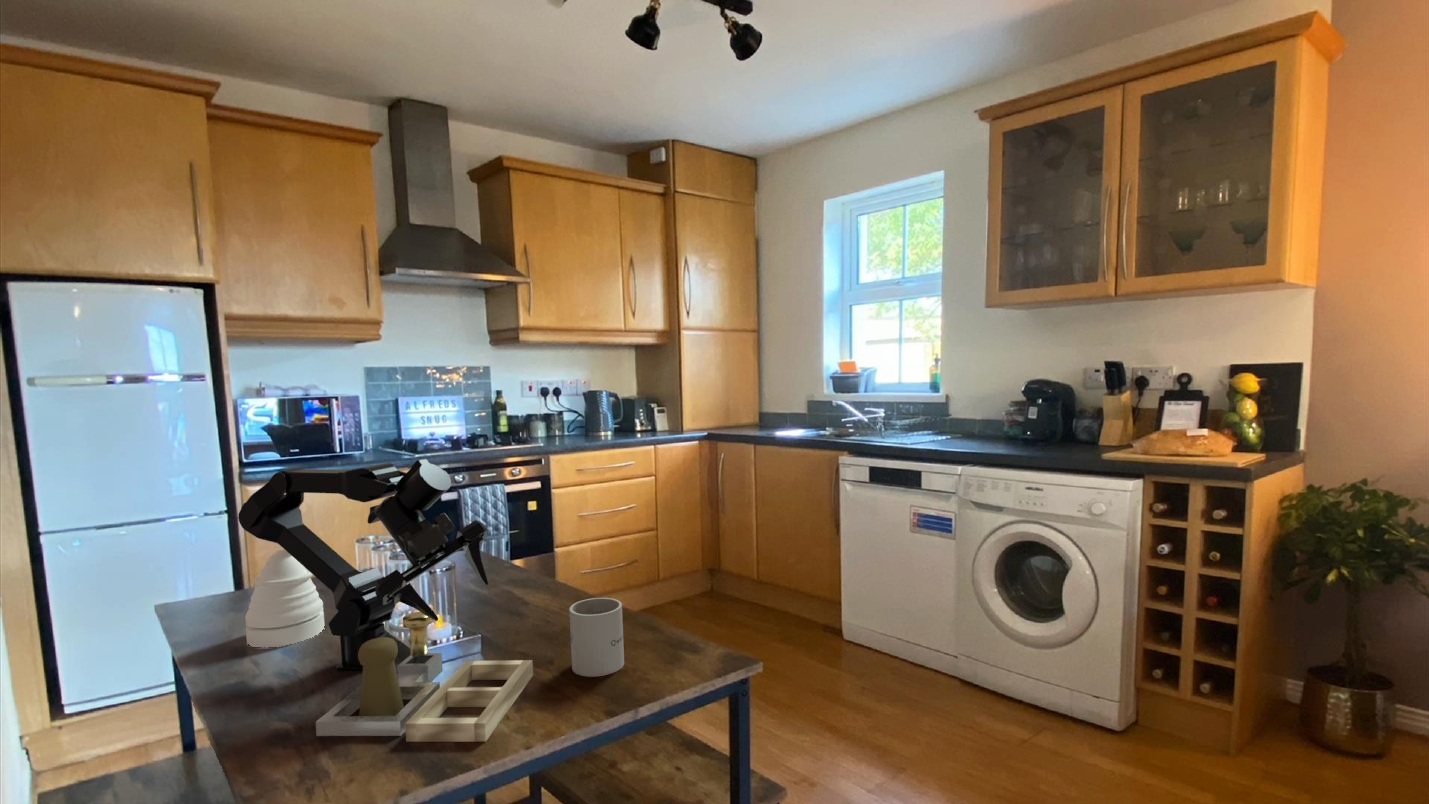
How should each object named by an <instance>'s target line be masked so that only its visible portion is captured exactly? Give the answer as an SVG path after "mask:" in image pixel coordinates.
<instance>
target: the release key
mask: <svg viewBox="0 0 1429 804" xmlns="http://www.w3.org/2000/svg"><path fill="white" fill-rule="evenodd" d="M432 623H433V619H431V618H430V617H428V616H426V615H425V614H423V613H422V612H420V611H415V612H410V613H407V614H406V615H405V616H403V617H402V628H405V629H409V643H410V644H409V645H410V655H411V656H413V657H419V656H423V655H426V654H427V653H429V643H428V626H429V625H431V624H432Z"/></svg>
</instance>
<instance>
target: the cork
mask: <svg viewBox="0 0 1429 804" xmlns="http://www.w3.org/2000/svg"><path fill="white" fill-rule="evenodd" d="M398 651H399V647H398V644H397V641H396V640H395V639H394V638H391V637H388V638H387V637H381V638H375V639H372V640H369V641H367V642H365V643H364V644H362V645H361V647H360V649H359V652H358V659H359V661H360V664H361V665H362V666H363V669H362V674H361V675H362V676H361V678H362V679H361V685H362V686H361V698H360V708H359V709H358V710H359V711H358V716H396V715H397V714H398V713H399V712H400V711H401V710H402V709H403V708H404V707H405V706H404V702H403V701H404V699H402V695H401V691H400V686H399V681H398V676H397V675H398V671H397V668H396V667H397V666H396V664H395V660H396V658H397V656H398Z"/></svg>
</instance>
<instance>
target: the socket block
mask: <svg viewBox="0 0 1429 804" xmlns="http://www.w3.org/2000/svg"><path fill="white" fill-rule="evenodd" d="M442 655H443V653H442V652H428V653H427V654H426V655H423V656H419V657H413V656H411V654H410V655H409V656H407V657H406V658H405V659H404V660H403V661H402V662H400V663H399V664H398V665H397V666H396V667H397V668H396V671H397V676H398V681H399V686H400V691H401V695H402V700H410V701H409V702H408V703H407V704H406V705H405V706H404V708H403V709H402V710H401V711H400V712H399V713H398V714H397V715H396V716H359V715H358V716H357V715H353V714H354V713H355V712H357V710H360V698H361V686H362V684H360V685H359V686H358V687H357V688H355V689H354V690H353V691H351V693H349V694H348V695H347V696H345V697H344V698H343V699H341V700H340V701H339V702H338V703H337V704H336V705H334V707H331V709H329V710H328V711H327V712H326V713H325V714H324V715H322V716H320V718H319V719H317V720H315V733H316V736H317V737H374V736H375V737H380V736H381V737H382V736H383V737H389V736H390V737H398V736H399V737H401V736H402V735H403V734H404V733H406V730H405V723H406V722H407V721H408V720H409V719H410V718H411V717H412V716H413V715H414V714H415V713H416V712H417V711H418V710H419V709H420V708H421V707H422V706H423V705H424V704H425V703H426V702H427V701H428V700H429V699H430V698H431V697H432V695H433V694H434V693H435V692H436V691H437V690H438V689H439V688H440V687H441V685H440V684H441V683H440V681H434V680H435V679H436V677H438V676H439V675H440V674H441V673H442V672H443V671H444V670H443V656H442Z"/></svg>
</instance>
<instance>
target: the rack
mask: <svg viewBox="0 0 1429 804" xmlns="http://www.w3.org/2000/svg"><path fill="white" fill-rule="evenodd" d="M533 663H534V662H533V660H532V659H523V660H522V659H521V660H520V659H519V660H518V659H516V660H515V659H514V660H513V659H512V660H505V659H504V660H465V661H464V662H463V663H462V664H461V665H460V666H459V668H457V670H456V671H455V672H454V673H453V674H452V675H451V676H450V677H449V678H448V679H447V680H446V681H445V682H444V683H443V684H441V685H440V688H439V689H438V690H437V691H436V692H435V693H434V694H433V695H432V697H431V698H430V699H429V700H428V701H427V702H426V703H425V704H424V705H423V706H422V707H421V708H420V709H419V710H418V711H417V712H416V713H415V714H414V715H413V716H412V717H411V718H410V719H409V720H408V721H407V722H406V723H405V730H406V731H405V742H406V743H408V742H410V743H413V742H415V743H418V742H419V743H420V742H424V743H425V742H429V743H430V742H431V743H433V742H434V743H435V742H436V743H437V742H441V743H442V742H444V743H445V742H447V743H448V742H449V743H450V742H454V743H455V742H457V743H459V742H461V743H462V742H464V743H465V742H470V743H471V742H472V743H473V742H483V743H484V742H485V743H486V742H487V740H488V739H489V738H490V737H491V735H492V734H493V732H494V731H495V729H497V727H498V726H499V724H500V723H501V721H502V720H503V718H504V717H505V716H506V714H507V713H508V712H509V710H510V708H511V707H512V706H513V704H514V703H515V701H516V700H517V699H518V698H519V696H520V694H521V693H522V692H523V690H524V688H526V686H527V684H528V683H529V682H530V681H531V680H532V678H533V676H534V668H533V665H534V664H533ZM474 680H475V681H485V680H486V681H491V680H492V681H493V680H495V681H496V680H497V681H499V680H501V681H504V680H506V682H505V683H504V685H502V686H499V687H497V686H496V687H493V686H490V687H489V686H487V687H484V686H483V687H482V686H481V687H477V686H475V687H473V686H472V687H469V686H468V685H470V683H471V682H472V681H474ZM448 708H484V710H483V711H482V712H481V714H480V715H479V716H478V717H441V716H442V715H443V713H445V711H446V710H447V709H448Z"/></svg>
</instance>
